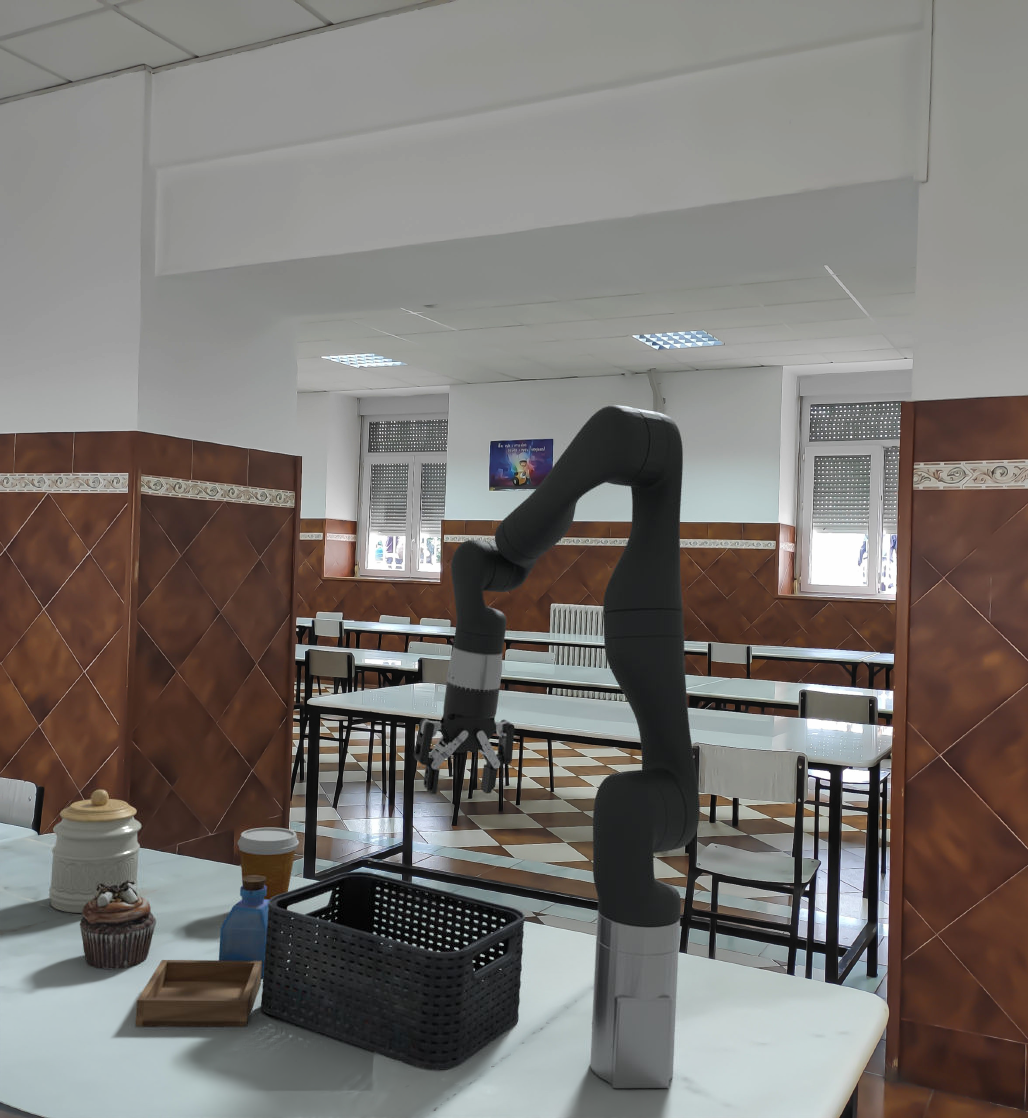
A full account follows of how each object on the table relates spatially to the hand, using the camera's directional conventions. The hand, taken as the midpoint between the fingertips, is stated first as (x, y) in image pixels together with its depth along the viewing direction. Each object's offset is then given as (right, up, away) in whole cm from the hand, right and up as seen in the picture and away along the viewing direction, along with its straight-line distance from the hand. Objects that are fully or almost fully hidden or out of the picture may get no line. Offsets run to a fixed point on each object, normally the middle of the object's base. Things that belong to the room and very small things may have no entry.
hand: (459, 792), depth 144 cm
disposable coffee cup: (-32, -23, +16) cm, 42 cm away
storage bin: (-7, -23, -20) cm, 31 cm away
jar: (-59, -21, +16) cm, 65 cm away
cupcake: (-46, -21, -7) cm, 51 cm away
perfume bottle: (-28, -22, -8) cm, 37 cm away
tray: (-31, -21, -20) cm, 42 cm away
